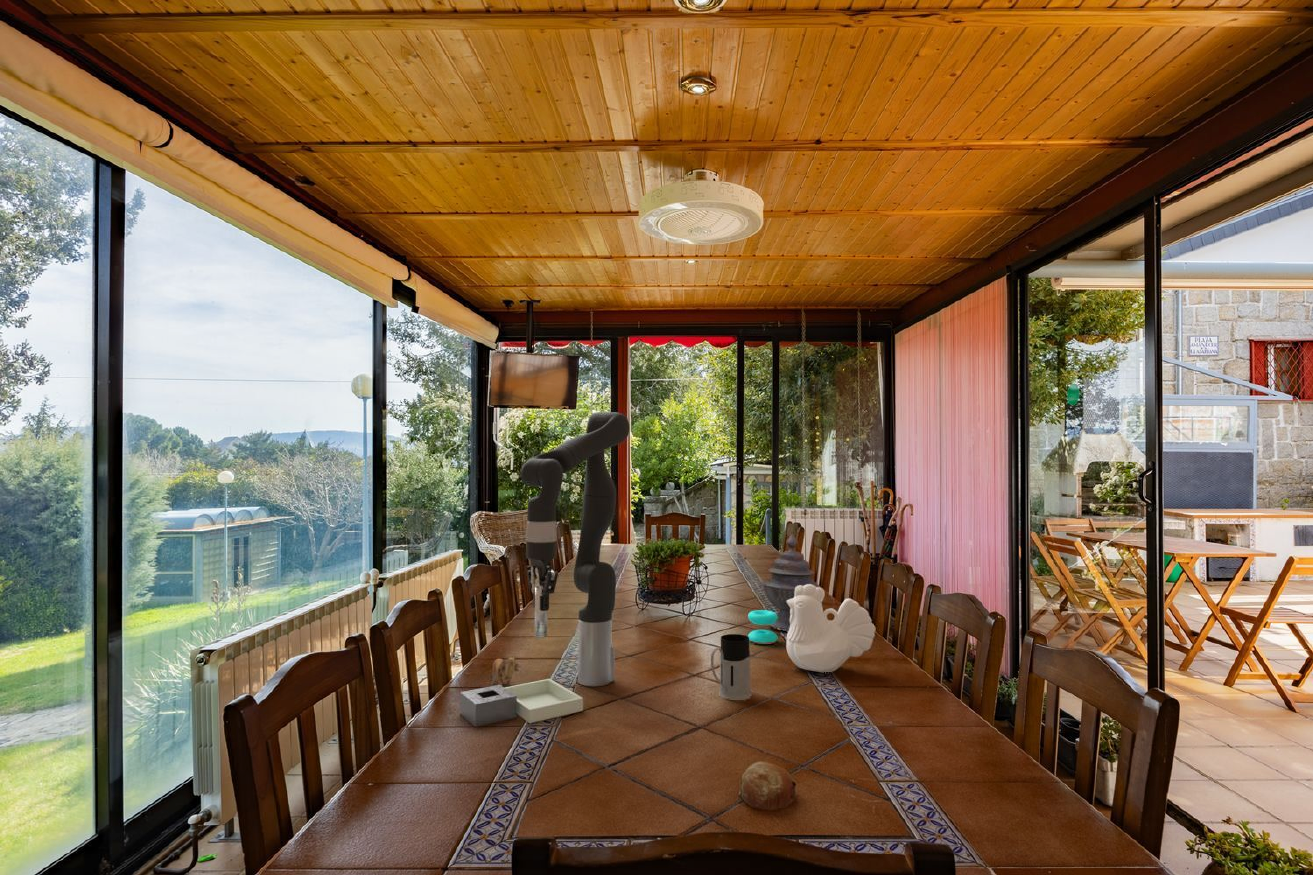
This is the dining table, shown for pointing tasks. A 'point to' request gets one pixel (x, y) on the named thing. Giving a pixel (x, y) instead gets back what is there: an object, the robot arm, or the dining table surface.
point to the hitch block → (488, 705)
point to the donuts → (762, 619)
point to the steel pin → (539, 615)
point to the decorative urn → (787, 581)
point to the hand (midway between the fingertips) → (541, 608)
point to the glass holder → (733, 667)
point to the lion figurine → (504, 670)
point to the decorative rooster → (825, 631)
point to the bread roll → (767, 786)
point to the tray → (545, 700)
